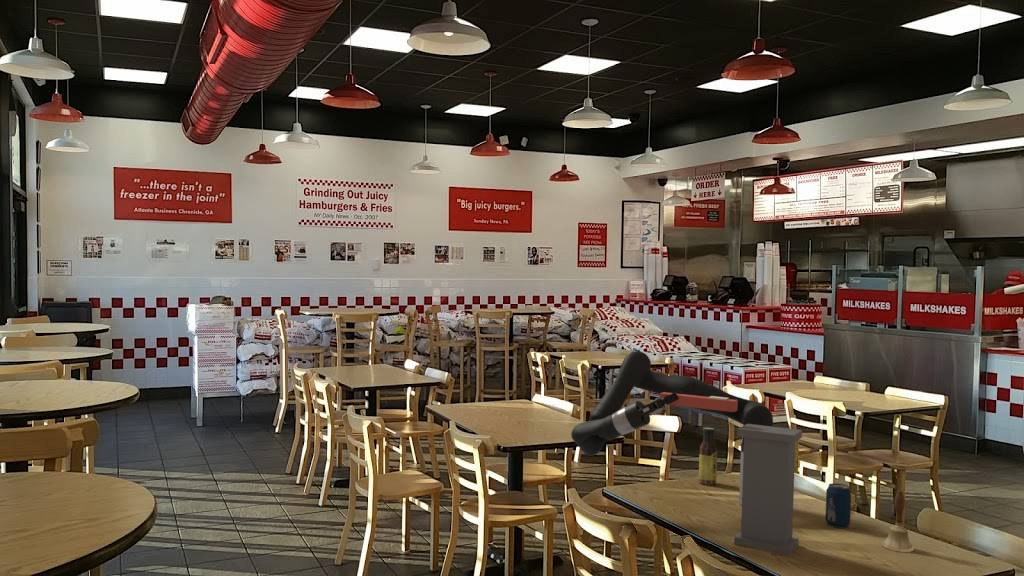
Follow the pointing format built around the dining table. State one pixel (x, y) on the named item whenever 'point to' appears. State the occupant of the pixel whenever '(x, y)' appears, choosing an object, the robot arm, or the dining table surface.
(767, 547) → the pedestal
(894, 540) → the hand bell
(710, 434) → the sauce bottle
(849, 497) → the soda can
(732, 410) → the red bar
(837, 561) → the dining table surface
